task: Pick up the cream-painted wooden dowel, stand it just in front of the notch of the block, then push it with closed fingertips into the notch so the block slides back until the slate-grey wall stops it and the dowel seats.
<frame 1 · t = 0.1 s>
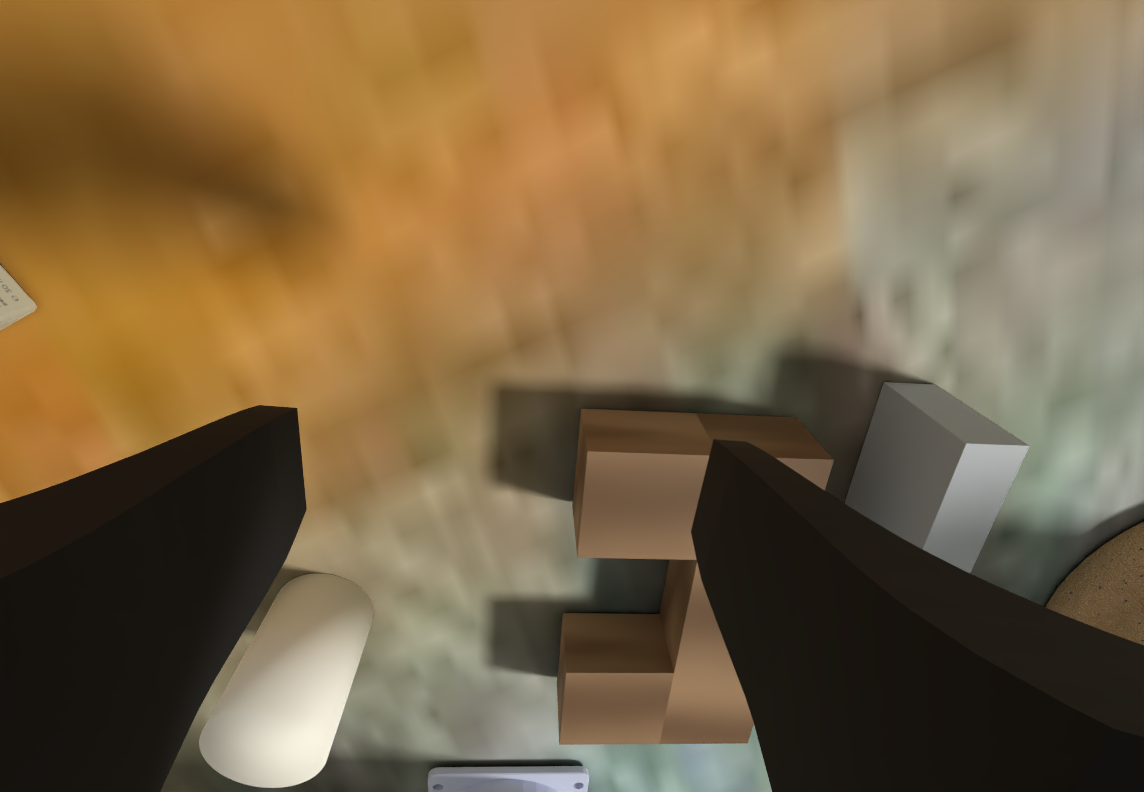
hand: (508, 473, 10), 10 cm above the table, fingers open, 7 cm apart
dowel: (324, 610, 24), on the table
block: (671, 590, 23), point 2 cm above the table, slide at 0.0 cm
wall: (843, 573, 25), on the table
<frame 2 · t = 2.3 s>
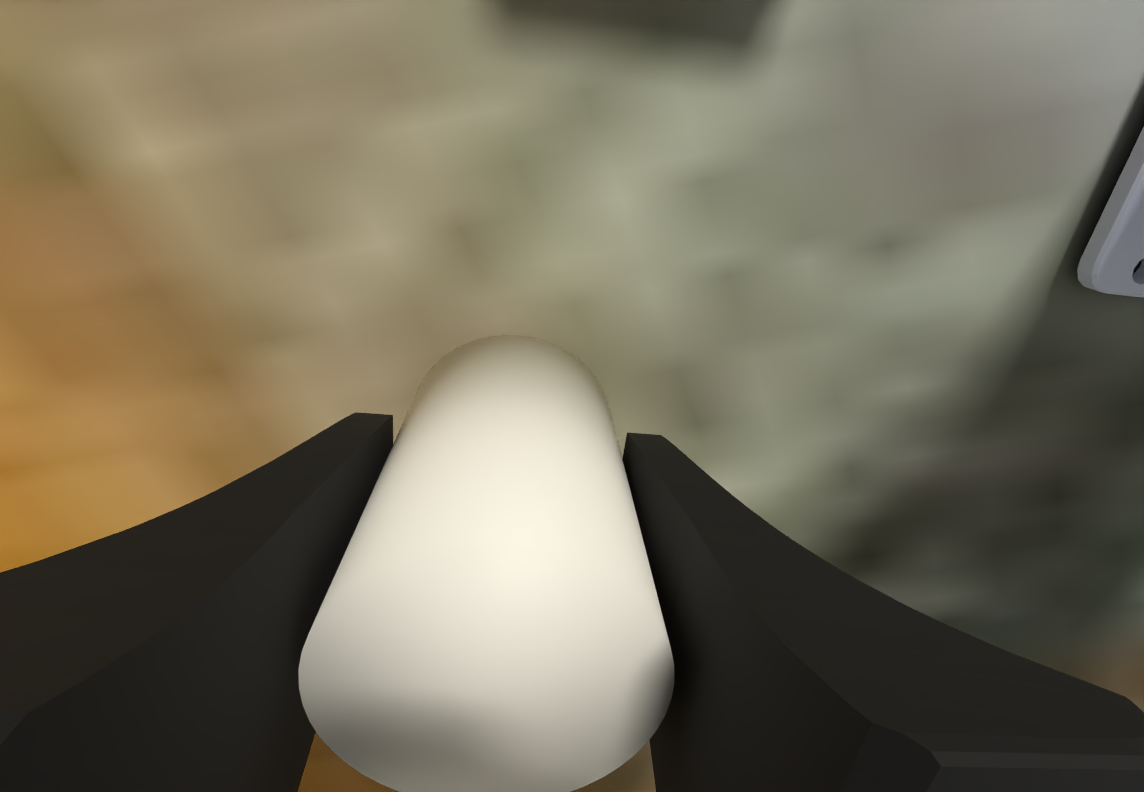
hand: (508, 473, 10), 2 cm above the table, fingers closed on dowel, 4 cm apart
dowel: (512, 429, 12), on the table, touching gripper
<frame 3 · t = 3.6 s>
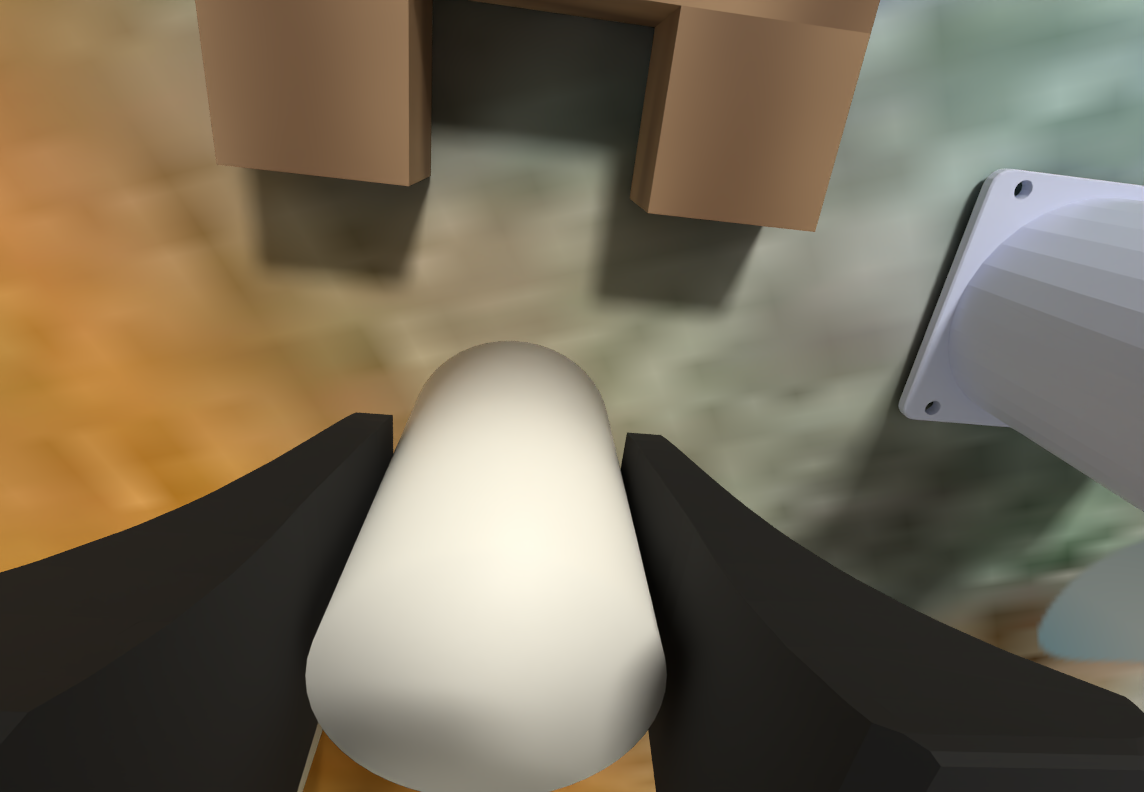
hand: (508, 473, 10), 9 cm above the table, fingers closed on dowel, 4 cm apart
dowel: (511, 432, 12), point 7 cm above the table, touching gripper
block: (546, 10, 13), point 2 cm above the table, slide at 0.0 cm
skincare box: (252, 684, 24), on the table
when the fingers open (2 cm above the table, at t = 5.1 s): dowel stays where it is, on the table.
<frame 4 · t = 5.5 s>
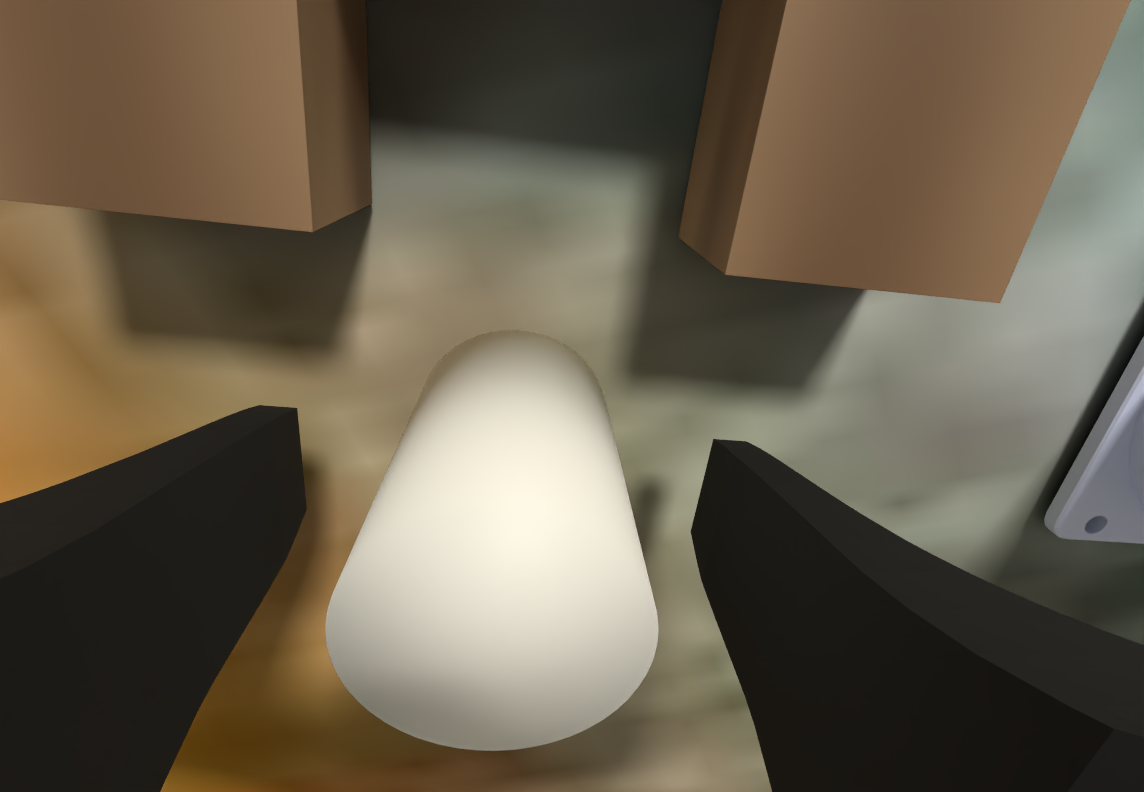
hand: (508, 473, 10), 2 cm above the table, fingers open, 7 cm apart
dowel: (514, 419, 12), on the table
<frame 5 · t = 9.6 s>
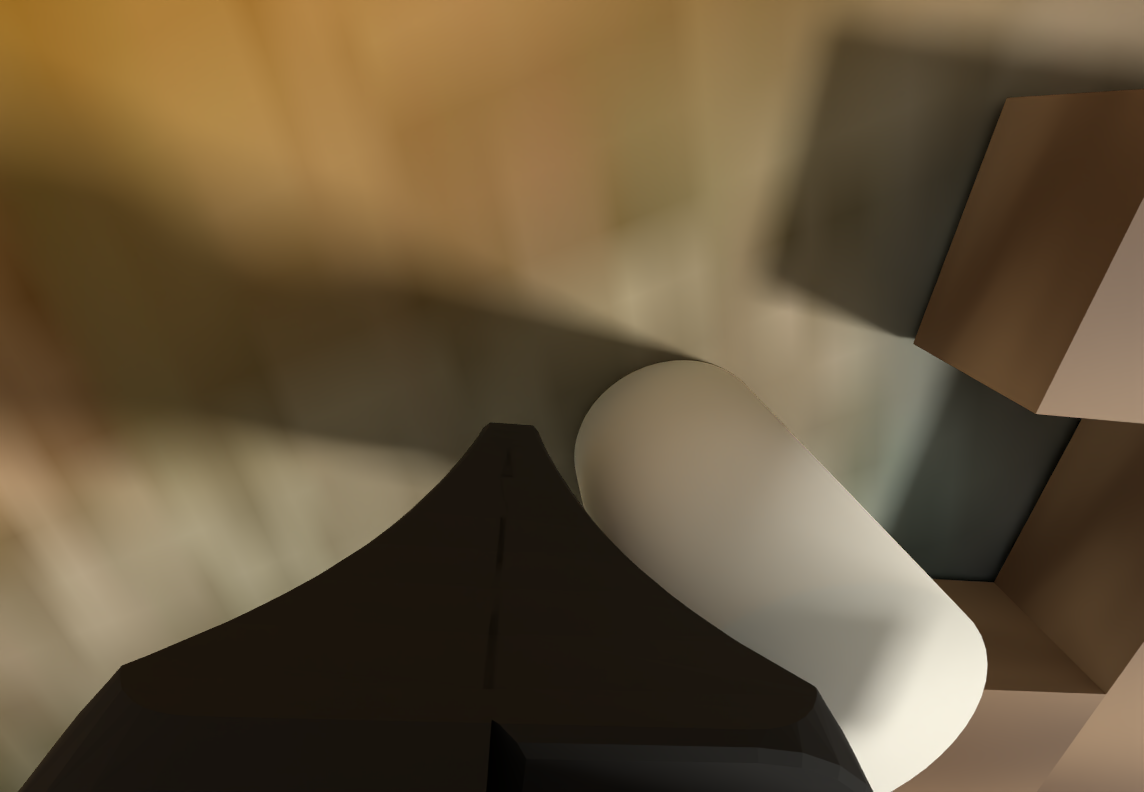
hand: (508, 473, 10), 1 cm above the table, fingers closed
dowel: (670, 451, 12), on the table, touching gripper
block: (1099, 525, 11), point 2 cm above the table, slide at 0.0 cm
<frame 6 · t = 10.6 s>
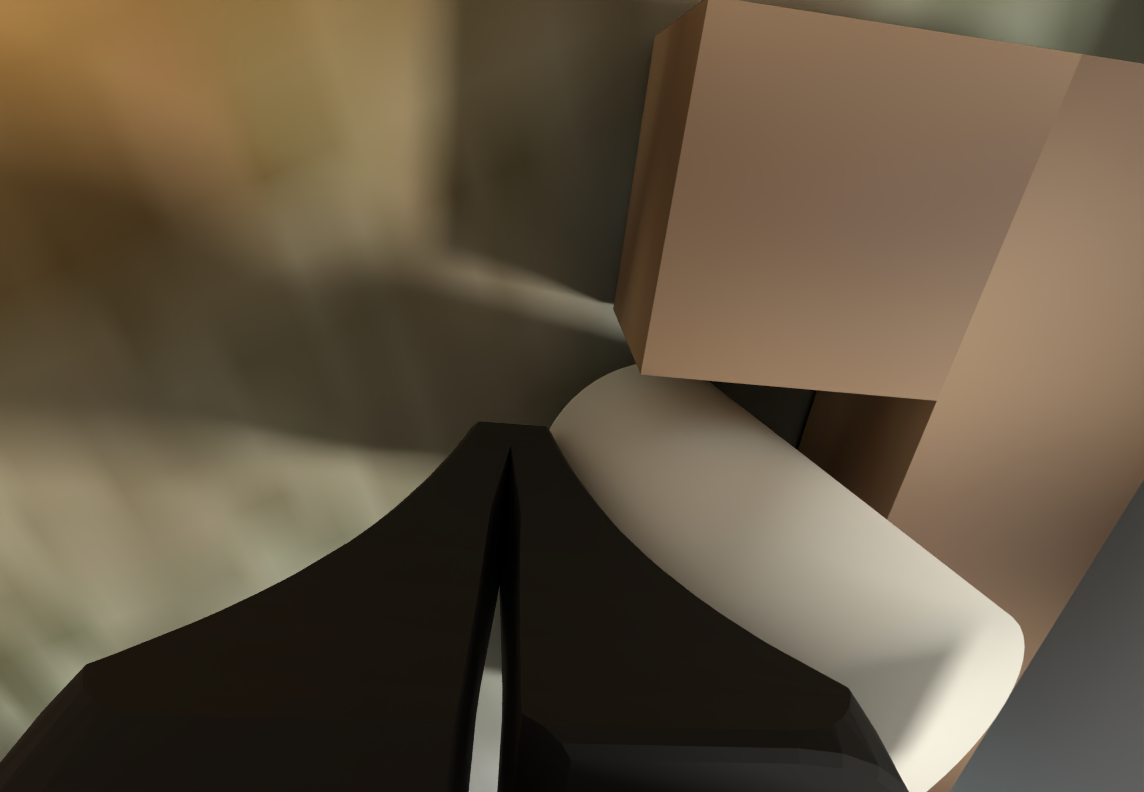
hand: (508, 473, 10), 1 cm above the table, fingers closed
dowel: (636, 457, 11), point 1 cm above the table, tilted 16°, touching gripper
block: (817, 502, 11), point 2 cm above the table, slide at 0.0 cm
wall: (1116, 501, 13), on the table
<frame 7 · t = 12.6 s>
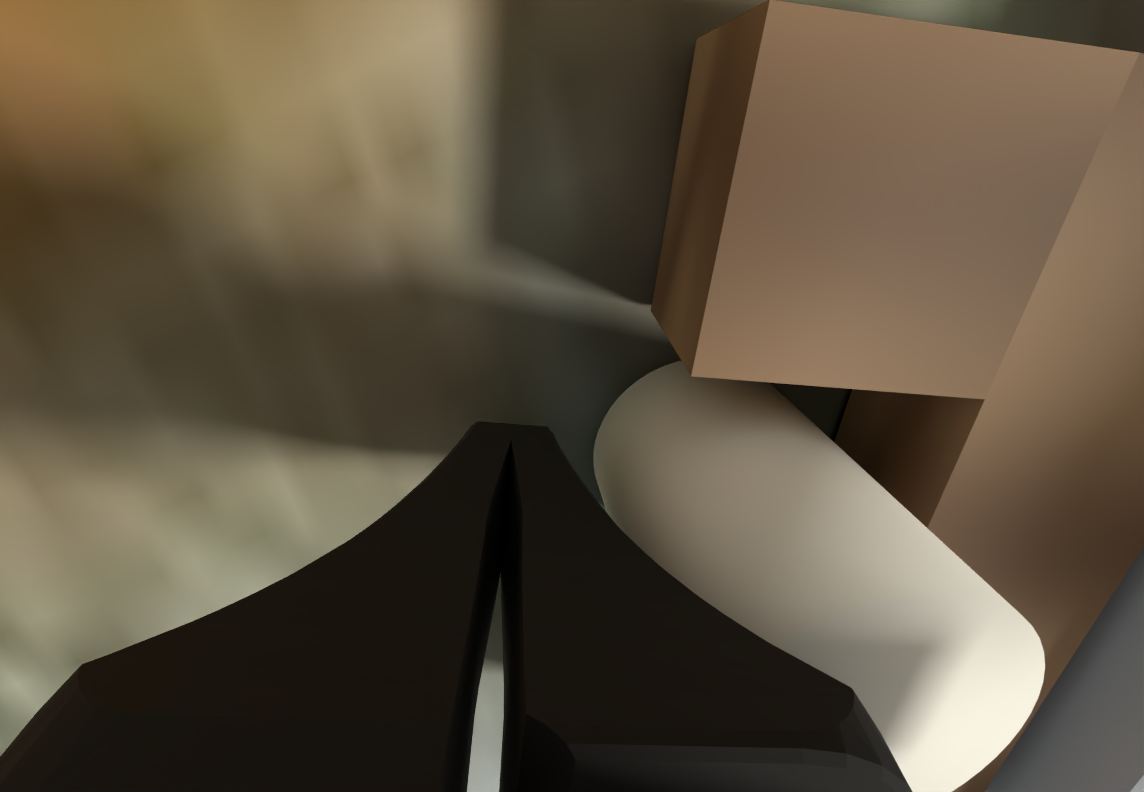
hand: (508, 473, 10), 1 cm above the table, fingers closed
dowel: (691, 450, 12), on the table, touching gripper
block: (855, 501, 11), point 2 cm above the table, slide at 2.3 cm
wall: (1055, 491, 13), on the table
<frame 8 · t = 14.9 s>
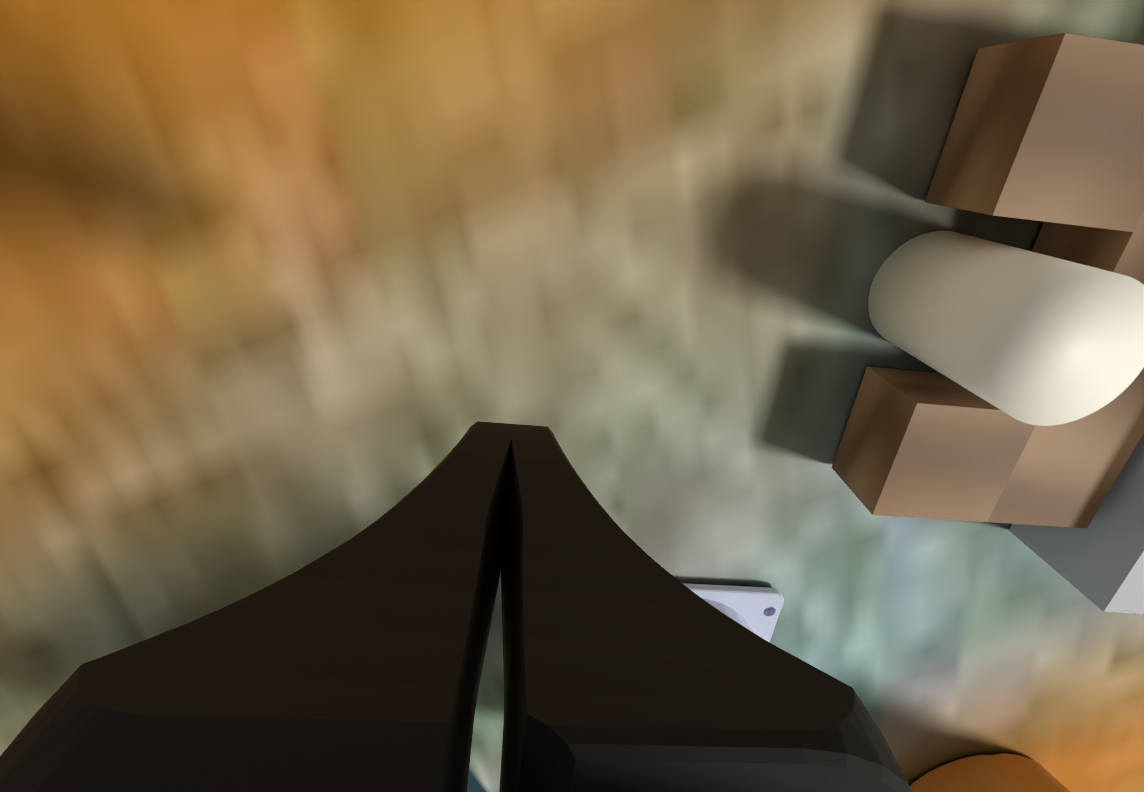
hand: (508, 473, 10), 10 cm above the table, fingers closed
dowel: (926, 291, 20), on the table
block: (1038, 313, 18), point 2 cm above the table, slide at 2.3 cm
wall: (1141, 328, 21), on the table
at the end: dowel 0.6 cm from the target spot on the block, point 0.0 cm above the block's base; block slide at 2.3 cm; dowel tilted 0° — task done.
